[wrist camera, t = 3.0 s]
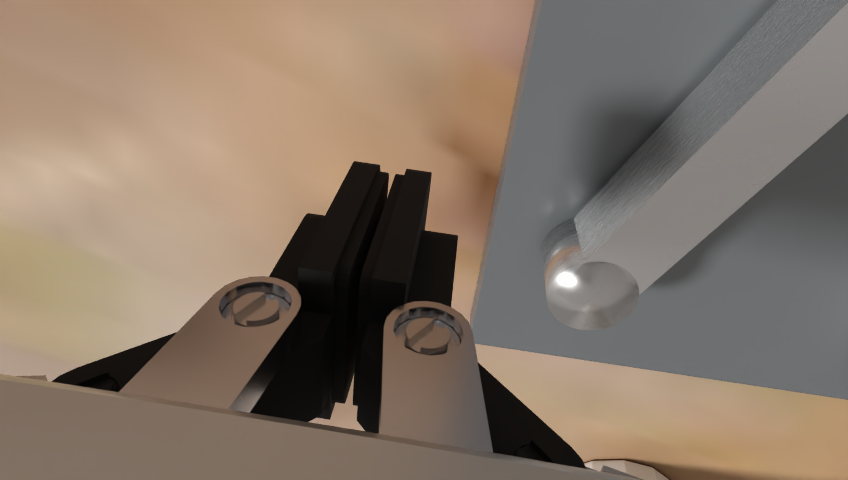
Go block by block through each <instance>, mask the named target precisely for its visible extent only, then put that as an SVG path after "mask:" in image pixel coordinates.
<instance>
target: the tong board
mask: <svg viewBox="0 0 848 480" xmlns="http://www.w3.org/2000/svg"><path fill="white" fill-rule="evenodd" d="M776 1H777V0H536V1H535V6H534V11H533V16H532V21H531V26H530V30H529V35H528V40H527V45H526V50H525V55H524V59H523V64H522V69H521V74H520V79H519V84H518V88H517V93H516V98H515V103H514V108H513V113H512V117H511V122H510V127H509V132H508V137H507V142H506V146H505V151H504V156H503V161H502V166H501V171H500V175H499V180H498V185H497V190H496V195H495V200H494V204H493V209H492V214H491V219H490V224H489V229H488V233H487V238H486V243H485V248H484V253H483V258H482V262H481V267H480V272H479V277H478V282H477V287H476V291H475V296H474V301H473V306H472V311H471V316H470V327H471V329H472V332H473V337H474V343H475V344H482V345H488V346H495V347H502V348H508V349H515V350H521V351H528V352H535V353H541V354H548V355H555V356H561V357H568V358H575V359H581V360H588V361H594V362H601V363H608V364H614V365H621V366H628V367H634V368H641V369H647V370H654V371H661V372H667V373H674V374H681V375H687V376H694V377H700V378H707V379H714V380H720V381H727V382H734V383H740V384H747V385H753V386H760V387H767V388H773V389H780V390H787V391H793V392H800V393H806V394H813V395H820V396H826V397H833V398H840V399H846V400H848V114H847V115H846V116H844V117H843V118H842V119H841V120H840V121H839V122H837V123H836V124H835V125H834V126H833V127H832V128H831V129H829V130H828V131H827V132H826V133H825V134H824V135H823V136H821V137H820V138H819V139H818V140H817V141H816V142H814V143H813V144H812V145H811V146H810V147H809V148H808V149H806V150H805V151H804V152H803V153H802V154H801V155H800V156H798V157H797V158H796V159H795V160H794V161H793V162H792V163H790V164H789V165H788V166H787V167H786V168H785V169H783V170H782V171H781V172H780V173H779V174H778V175H777V176H775V177H774V178H773V179H772V180H771V181H770V182H769V183H767V184H766V185H765V186H764V187H763V188H762V189H761V190H759V191H758V192H757V193H756V194H755V195H754V196H752V197H751V198H750V199H749V200H748V201H747V202H746V203H744V204H743V205H742V206H741V207H740V208H739V209H738V210H736V211H735V212H734V213H733V214H732V215H731V216H730V217H728V218H727V219H726V220H725V221H724V222H723V223H721V224H720V225H719V226H718V227H717V228H716V229H715V230H713V231H712V232H711V233H710V234H709V235H708V236H707V237H705V238H704V239H703V240H702V241H701V242H700V243H698V244H697V245H696V246H695V247H694V248H693V249H692V250H690V251H689V252H688V253H687V254H686V255H685V256H684V257H682V258H681V259H680V260H679V261H678V262H677V263H676V264H674V265H673V266H672V267H671V268H670V269H669V270H667V271H666V272H665V273H664V274H663V275H662V276H661V277H659V278H658V279H657V280H656V281H655V282H654V283H653V284H651V285H650V286H649V287H648V288H647V289H646V290H645V291H643V292H642V293H641V294H640V295H639V299H638V302H637V305H636V307H635V308H634V310H633V311H632V312H631V314H630V315H629V316H628V317H626V318H625V319H624V320H623V321H621V322H619V323H617V324H615V325H613V326H611V327H608V328H604V329H599V330H580V329H575V328H572V327H569V326H567V325H565V324H563V323H561V322H560V321H558V320H557V319H556V318H555V317H554V316H553V314H552V313H551V311H550V309H549V307H548V303H547V296H546V288H545V281H544V274H543V266H542V259H541V247H542V243H543V241H544V239H545V237H546V235H547V234H548V233H549V232H550V231H551V230H552V229H553V228H554V227H555V226H557V225H558V224H560V223H562V222H564V221H566V220H569V219H573V218H574V217H575V216H576V215H577V214H578V213H579V212H580V211H581V210H582V209H583V208H584V207H585V206H586V204H587V203H588V202H589V201H590V200H591V199H592V198H593V197H594V196H595V195H596V194H597V193H598V192H599V191H600V190H601V188H602V187H603V186H604V185H605V184H606V183H607V182H608V181H609V180H610V179H611V178H612V177H613V176H614V175H615V173H616V172H617V171H618V170H619V169H620V168H621V167H622V166H623V165H624V164H625V163H626V162H627V161H628V160H629V159H630V157H631V156H632V155H633V154H634V153H635V152H636V151H637V150H638V149H639V148H640V147H641V146H642V145H643V144H644V142H645V141H646V140H647V139H648V138H649V137H650V136H651V135H652V134H653V133H654V132H655V131H656V130H657V129H658V128H659V126H660V125H661V124H662V123H663V122H664V121H665V120H666V119H667V118H668V117H669V116H670V115H671V114H672V113H673V111H674V110H675V109H676V108H677V107H678V106H679V105H680V104H681V103H682V102H683V101H684V100H685V99H686V98H687V97H688V95H689V94H690V93H691V92H692V91H693V90H694V89H695V88H696V87H697V86H698V85H699V84H700V83H701V82H702V80H703V79H704V78H705V77H706V76H707V75H708V74H709V73H710V72H711V71H712V70H713V69H714V68H715V67H716V66H717V64H718V63H719V62H720V61H721V60H722V59H723V58H724V57H725V56H726V55H727V54H728V53H729V52H730V51H731V50H732V48H733V47H734V46H735V45H736V44H737V43H738V42H739V41H740V40H741V39H742V38H743V37H744V36H745V35H746V33H747V32H748V31H749V30H750V29H751V28H752V27H753V26H754V25H755V24H756V23H757V22H758V21H759V20H760V19H761V17H762V16H763V15H764V14H765V13H766V12H767V11H768V10H769V9H770V8H771V7H772V6H773V5H774V4H775V2H776Z"/></svg>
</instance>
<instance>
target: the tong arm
mask: <svg viewBox="0 0 848 480" xmlns="http://www.w3.org/2000/svg"><path fill="white" fill-rule="evenodd" d="M847 114H848V0H777V1H776V2H775V4H774V5H773V6H772V7H771V8H770V9H769V10H768V11H767V12H766V13H765V14H764V15H763V16H762V17H761V19H760V20H759V21H758V22H757V23H756V24H755V25H754V26H753V27H752V28H751V29H750V30H749V31H748V32H747V33H746V35H745V36H744V37H743V38H742V39H741V40H740V41H739V42H738V43H737V44H736V45H735V46H734V47H733V48H732V50H731V51H730V52H729V53H728V54H727V55H726V56H725V57H724V58H723V59H722V60H721V61H720V62H719V63H718V64H717V66H716V67H715V68H714V69H713V70H712V71H711V72H710V73H709V74H708V75H707V76H706V77H705V78H704V79H703V80H702V82H701V83H700V84H699V85H698V86H697V87H696V88H695V89H694V90H693V91H692V92H691V93H690V94H689V95H688V97H687V98H686V99H685V100H684V101H683V102H682V103H681V104H680V105H679V106H678V107H677V108H676V109H675V110H674V111H673V113H672V114H671V115H670V116H669V117H668V118H667V119H666V120H665V121H664V122H663V123H662V124H661V125H660V126H659V128H658V129H657V130H656V131H655V132H654V133H653V134H652V135H651V136H650V137H649V138H648V139H647V140H646V141H645V142H644V144H643V145H642V146H641V147H640V148H639V149H638V150H637V151H636V152H635V153H634V154H633V155H632V156H631V157H630V159H629V160H628V161H627V162H626V163H625V164H624V165H623V166H622V167H621V168H620V169H619V170H618V171H617V172H616V173H615V175H614V176H613V177H612V178H611V179H610V180H609V181H608V182H607V183H606V184H605V185H604V186H603V187H602V188H601V190H600V191H599V192H598V193H597V194H596V195H595V196H594V197H593V198H592V199H591V200H590V201H589V202H588V203H587V204H586V206H585V207H584V208H583V209H582V210H581V211H580V212H579V213H578V214H577V215H576V216H575V217H574V218H573V219H569V220H566V221H564V222H562V223H560V224H558V225H557V226H555V227H554V228H553V229H552V230H551V231H550V232H549V233H548V234H547V235H546V237H545V239H544V241H543V243H542V247H541V259H542V266H543V274H544V281H545V288H546V296H547V303H548V307H549V309H550V311H551V313H552V314H553V316H554V317H555V318H556V319H557V320H558V321H560V322H561V323H563V324H565V325H567V326H569V327H572V328H575V329H580V330H599V329H604V328H608V327H611V326H613V325H615V324H617V323H619V322H621V321H623V320H624V319H625V318H626V317H628V316H629V315H630V314H631V312H632V311H633V310H634V308H635V307H636V305H637V302H638V299H639V295H640V294H641V293H642V292H643V291H645V290H646V289H647V288H648V287H649V286H650V285H651V284H653V283H654V282H655V281H656V280H657V279H658V278H659V277H661V276H662V275H663V274H664V273H665V272H666V271H667V270H669V269H670V268H671V267H672V266H673V265H674V264H676V263H677V262H678V261H679V260H680V259H681V258H682V257H684V256H685V255H686V254H687V253H688V252H689V251H690V250H692V249H693V248H694V247H695V246H696V245H697V244H698V243H700V242H701V241H702V240H703V239H704V238H705V237H707V236H708V235H709V234H710V233H711V232H712V231H713V230H715V229H716V228H717V227H718V226H719V225H720V224H721V223H723V222H724V221H725V220H726V219H727V218H728V217H730V216H731V215H732V214H733V213H734V212H735V211H736V210H738V209H739V208H740V207H741V206H742V205H743V204H744V203H746V202H747V201H748V200H749V199H750V198H751V197H752V196H754V195H755V194H756V193H757V192H758V191H759V190H761V189H762V188H763V187H764V186H765V185H766V184H767V183H769V182H770V181H771V180H772V179H773V178H774V177H775V176H777V175H778V174H779V173H780V172H781V171H782V170H783V169H785V168H786V167H787V166H788V165H789V164H790V163H792V162H793V161H794V160H795V159H796V158H797V157H798V156H800V155H801V154H802V153H803V152H804V151H805V150H806V149H808V148H809V147H810V146H811V145H812V144H813V143H814V142H816V141H817V140H818V139H819V138H820V137H821V136H823V135H824V134H825V133H826V132H827V131H828V130H829V129H831V128H832V127H833V126H834V125H835V124H836V123H837V122H839V121H840V120H841V119H842V118H843V117H844V116H846V115H847Z"/></svg>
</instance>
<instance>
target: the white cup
mask: <svg viewBox="0 0 848 480" xmlns="http://www.w3.org/2000/svg"><path fill="white" fill-rule="evenodd" d="M584 464H585V466H586V467H589V468H591V469H594V470H597V471H601V469H602V467H603V465H605V466H608V467H610V468H613V469H616V470H619V471H621V472H624V473H627V474H630V475H632V476H635V477H638V478H640V479H643V480H669V479H668V478H666V477H665V476H664V475H662V474H661V473H659V472H658V471H657V470H655V469H654V468H652V467H649V466H645V465H641V464H637V463H633V462H629V461H625V460H605V461H590V462H587V463H584Z"/></svg>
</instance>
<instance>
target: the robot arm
mask: <svg viewBox="0 0 848 480" xmlns="http://www.w3.org/2000/svg"><path fill="white" fill-rule="evenodd" d="M431 174H432V173H431V172H425V171H418V170H411V169H406V172H405V175H399V174H396V175H395V178H394V180H393V183H392V186H391V189H390V192H389V195H388V198H387V193H388V181H389V174H388V173H385V172H380V165H376V164H369V163H363V162H356V161H354V162H353V164H352V166H351V168H350V170H349V171H348V173H347V175H346V177H345V179H344V181H343V183H342V185H341V187H340V189H339V190H338V192H337V194H336V196H335V198H334V200H333V202H332V204H331V206H330V207H329V209H328V211H327V213H326V215H325V216H323V215H317V214H310V213H309V214H306V216H305V217H304V218H303V220H302V222H301V224H300V225H299V227H298V229H297V230H296V232H295V234H294V235H293V237H292V239H291V240H290V242H289V244H288V246H287V247H286V249H285V251H284V252H283V254H282V256H281V257H280V259H279V261H278V262H277V264H276V266H275V268H274V269H273V271H272V273H271V274H270V276H269V277H266V276H260V277H248V278H244V279H239V280H236V281H234V282H232V283H229V284H227V285H225V286H224V287H223V288H221V289H220V290H219V291H217V292H216V293H215V294H214V295H213V296H212V297H211V298H210V299H209V300H208V301H207V302H206V303H205V304H204V305H203V306H202V307H201V308H200V309H199V310H198V311H197V312H196V314H195V315H194V316H193V317H192V318H191V319H190V320H189V321H188V322H187V323H186V324H185V325H184V326H183V327H182V328H181V329H180V330H179V331H178V332H176V333H173V334H170V335H168V336H165V337H162V338H159V339H156V340H154V341H151V342H148V343H145V344H142V345H140V346H137V347H134V348H131V349H128V350H126V351H123V352H120V353H117V354H114V355H112V356H109V357H106V358H103V359H100V360H98V361H95V362H92V363H89V364H86V365H84V366H81V367H78V368H76V369H73V370H71V371H69V372H67V373H65V374H62V375H60V376H59V377H57V378H56V379H54V380H53V381H52V382H49V381H47V378H46V375H44V376H9V375H2V374H0V480H643V479H640V478H638V477H635V476H632V475H630V474H627V473H624V472H621V471H619V470H616V469H613V468H610V467H608V466H605V465H603V467H602V469H601V471H597V470H594V469H591V468H589V467H586V466H585V464H584V462H583V460H582V459H581V458H580V457H579V455H578V454H577V453H576V452H575V451H574V450H573V449H572V447H571V446H570V445H568V444H567V443H566V442H565V441H564V440H563V439H562V438H561V437H560V436H559V435H557V434H556V433H555V432H554V431H553V430H552V429H551V428H550V427H549V426H547V425H546V424H545V423H544V422H543V421H542V420H541V419H540V418H539V417H538V416H536V415H535V414H534V413H533V412H532V411H531V410H530V409H529V408H528V407H526V406H525V405H524V404H523V403H522V402H521V401H520V400H519V399H518V398H517V397H515V396H514V395H513V394H512V393H511V392H510V391H509V390H508V389H507V388H506V387H504V386H503V385H502V384H501V383H500V382H499V381H498V380H497V379H496V378H494V377H493V376H492V375H491V374H490V373H489V372H488V371H487V370H486V369H485V368H483V367H482V366H481V365H480V364H479V363H478V361H477V355H476V349H475V343H474V337H473V332H472V329H471V327H470V324H469V322H468V321H467V320H466V319H465V318H464V316H463V315H462V314H460V313H459V312H457V311H456V310H454V309H453V308H451V301H452V291H453V281H454V271H455V261H456V251H457V241H458V235H452V234H445V233H438V232H431V231H425V223H426V215H427V207H428V199H429V191H430V183H431ZM353 375H354V389H353V405H356V406H358V411H357V421H358V422H359V424H360V425H361V426H362V427H363V429H364V430H365V431H366V432H365V431H359V430H353V429H347V428H341V427H334V426H328V425H322V424H316V423H310V422H309V421H311V420H313V419H314V418H316V417H317V418H324V419H330V418H331V414H332V411H333V408H334V405H335V402H338V403H345V402H346V399H347V396H348V392H349V389H350V385H351V382H352V378H353Z"/></svg>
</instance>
